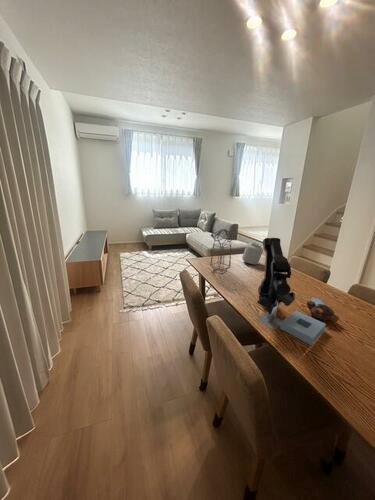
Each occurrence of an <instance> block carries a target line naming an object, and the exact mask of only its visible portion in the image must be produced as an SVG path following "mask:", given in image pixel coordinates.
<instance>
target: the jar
mask: <svg viewBox="0 0 375 500" xmlns="http://www.w3.org/2000/svg"><path fill="white" fill-rule="evenodd" d="M263 251H264V249H263V247H262V245H261V244H259V243H257V242H253V241H251V242H250V243H247V244H246V247H245V249H244V251H243V254H242V256H241V259H242V261H244V262H245V263H247V264H249V265H255V266H256V265H257V264H258V263H259V262H260V259H261V257H262V254H263ZM263 260H264V259H262V261H261V262H263Z"/></svg>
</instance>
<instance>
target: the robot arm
mask: <svg viewBox="0 0 375 500" xmlns="http://www.w3.org/2000/svg"><path fill="white" fill-rule="evenodd" d="M262 246H263V247H262V249H263V251H264V252H265V259H264V260H265V263H264V264H265V265H264V276H263V279H262V280H261V282H260V285H259V286H258V288H257V293H258V295H259V296H258V300H257V301H256V304H259V305H260V306H262V307H264V308H266V311H267V313H268V314H270V315H271V313H272V310H273V308H274V307H275V306H277V305H275V302H276V300H278V307H279V306H280V304H281V303H282V304H284V306H286V307H290V305H292V304H293V302H294V301H295V300H296V294H295V292H293V291H291V286H290V285H289V282H288V281H287V279H291V276H292V269H291V268H292V267H291V264H290V262H289V260H288V258H287V257H285V256H284V254H283V250H282V246H281V238H279V237H265V238H264V239H262ZM278 307H277V309H278Z"/></svg>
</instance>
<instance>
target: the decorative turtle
mask: <svg viewBox="0 0 375 500" xmlns="http://www.w3.org/2000/svg"><path fill="white" fill-rule="evenodd" d="M306 306H307V309H308V310H309V311H310V315H311V316H310V317H312V318H314V319H316V318H318V319H319V321H320V322H323V323H325V322H326V321H327V320H329V321H332V322H334V323H337V322H339V320H340V317H339V316H337V315H336V314H335V311H334V310H333V309H332V308H331V307H329V306H328V305H323V304H317V305H315V303H314V302H313V301H310V300H307V302H306Z"/></svg>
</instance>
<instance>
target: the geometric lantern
mask: <svg viewBox="0 0 375 500" xmlns="http://www.w3.org/2000/svg"><path fill="white" fill-rule="evenodd" d="M221 234H222V235H223V236H222V237H221V238H220V235H221ZM209 236H210V237H212V239H213V240H214V242H213V244H212V252H211V258H210V265H209V266H211V268H212V271H213V272H215V273H217V274H225V273H227V271H228V270H229V269H230V268H231V264H232V263H231V262H232V261H231V257H232V252H231V251H232V244H231V242H232V241H233V240H234V239H235V238H236V237H237V236H236V235H235V234H233V233H232V232H230V231H229V230H227V229H226V228H222V229H220V230H218V231H215V232H213V233H211V234H209ZM223 239H224V241H223V242H222V243H221V242H220V241H222V240H223ZM226 241H227V242H226ZM216 242H218V245H219V246H218V245H217V243H216ZM227 243H228V244H227ZM215 247H217V248H219V250H218V254H219V255H218V257H217V262H214V263H213V256H214V255H213V254H214V249H215ZM228 247H229V261H228V263H229V264H225V262H224V261H225V260H224V259H225V249H226V248H228ZM221 252H222V253H221ZM215 264H217V266H213V265H215ZM221 264H222V265H223V266H221ZM224 266H227V267H224ZM217 271H219V272H217Z"/></svg>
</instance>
